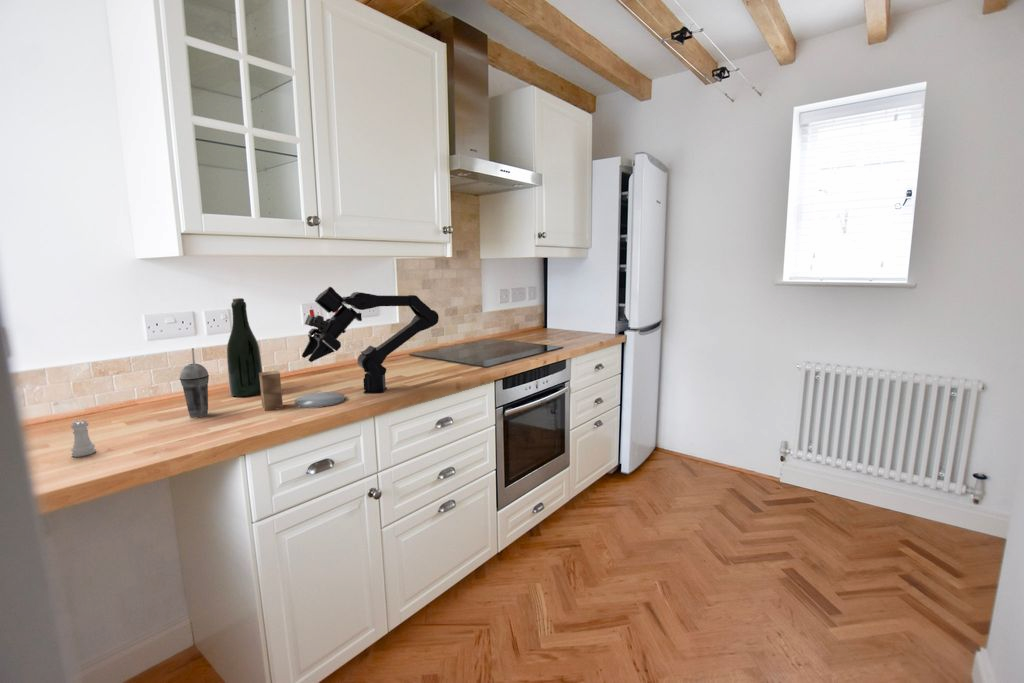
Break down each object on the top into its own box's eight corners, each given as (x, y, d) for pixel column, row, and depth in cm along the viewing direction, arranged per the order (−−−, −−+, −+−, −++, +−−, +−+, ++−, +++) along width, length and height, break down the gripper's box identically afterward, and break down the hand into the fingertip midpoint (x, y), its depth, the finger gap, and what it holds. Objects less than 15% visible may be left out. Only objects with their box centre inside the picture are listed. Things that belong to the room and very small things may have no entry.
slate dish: (351, 395, 165) (351, 391, 165) (333, 407, 150) (333, 404, 150) (308, 395, 166) (307, 391, 166) (285, 408, 151) (285, 404, 151)
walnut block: (279, 404, 155) (276, 370, 154) (282, 408, 151) (279, 373, 150) (262, 407, 152) (259, 372, 151) (265, 411, 148) (261, 375, 147)
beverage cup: (180, 420, 140) (171, 351, 137) (189, 413, 147) (181, 347, 144) (208, 417, 142) (201, 350, 139) (216, 410, 149) (209, 346, 146)
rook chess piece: (84, 450, 118) (79, 418, 117) (101, 450, 118) (96, 418, 116) (66, 457, 114) (60, 424, 112) (83, 457, 113) (78, 424, 112)
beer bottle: (238, 390, 174) (229, 297, 169) (269, 389, 175) (260, 297, 170) (224, 398, 164) (213, 299, 159) (257, 397, 165) (247, 298, 160)
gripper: (313, 304, 165) (279, 339, 160) (328, 307, 149) (291, 346, 145) (338, 326, 170) (306, 360, 165) (355, 331, 155) (321, 369, 150)
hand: (306, 359), depth 156 cm, fingers open, 9 cm apart
